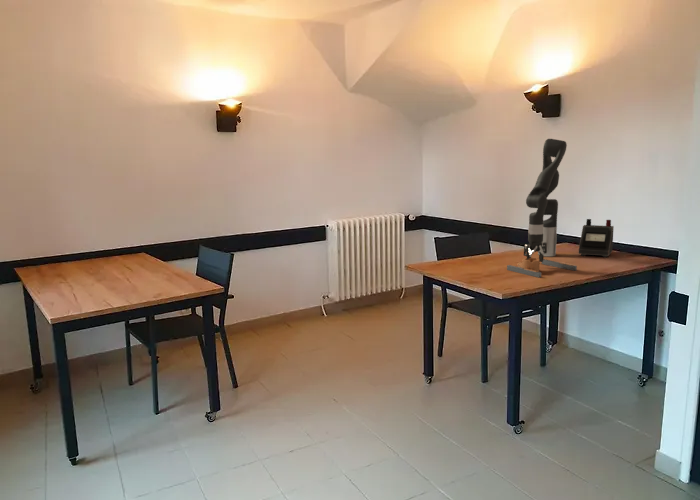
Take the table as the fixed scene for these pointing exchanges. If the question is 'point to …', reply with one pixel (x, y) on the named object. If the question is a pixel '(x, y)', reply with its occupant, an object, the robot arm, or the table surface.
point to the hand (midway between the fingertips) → (535, 262)
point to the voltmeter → (596, 239)
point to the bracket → (529, 264)
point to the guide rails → (545, 262)
